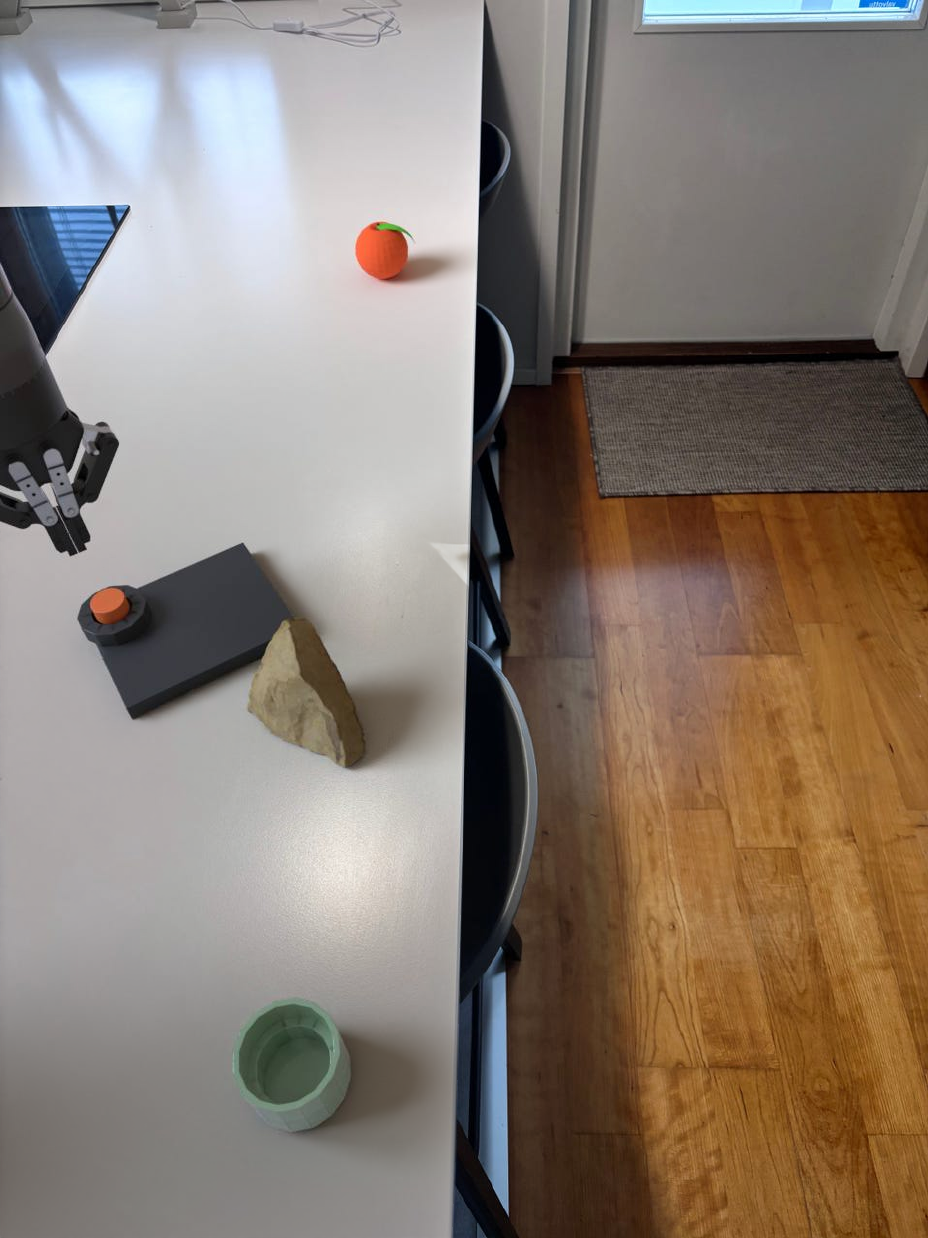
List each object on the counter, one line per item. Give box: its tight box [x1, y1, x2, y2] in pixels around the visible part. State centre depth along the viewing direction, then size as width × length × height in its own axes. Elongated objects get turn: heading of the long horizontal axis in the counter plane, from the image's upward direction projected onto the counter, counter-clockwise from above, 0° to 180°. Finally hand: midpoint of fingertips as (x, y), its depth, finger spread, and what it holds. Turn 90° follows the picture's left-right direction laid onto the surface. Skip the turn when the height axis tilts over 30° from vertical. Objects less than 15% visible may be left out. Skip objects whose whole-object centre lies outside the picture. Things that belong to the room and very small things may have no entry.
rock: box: [246, 617, 367, 769], centre depth 76 cm, size 11×9×10 cm
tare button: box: [90, 588, 130, 624], centre depth 84 cm, size 3×3×2 cm
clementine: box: [354, 221, 416, 280], centre depth 124 cm, size 8×7×7 cm
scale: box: [76, 542, 295, 720], centre depth 85 cm, size 16×13×3 cm
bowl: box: [232, 997, 352, 1133], centre depth 58 cm, size 6×6×5 cm
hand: (76, 547), depth 78 cm, fingers closed
